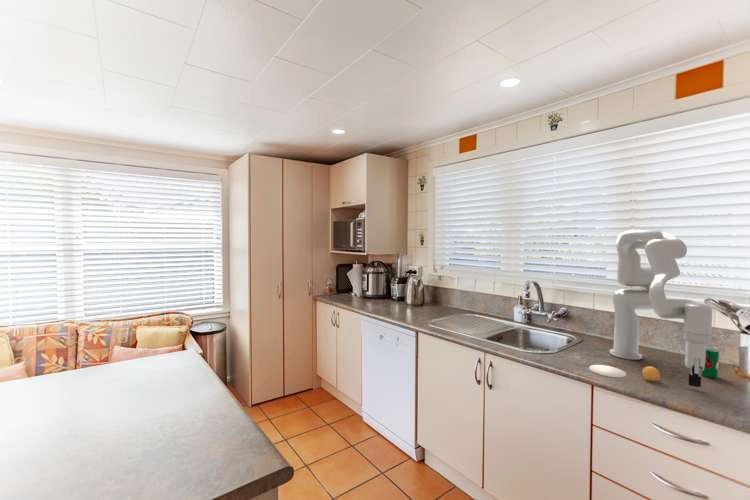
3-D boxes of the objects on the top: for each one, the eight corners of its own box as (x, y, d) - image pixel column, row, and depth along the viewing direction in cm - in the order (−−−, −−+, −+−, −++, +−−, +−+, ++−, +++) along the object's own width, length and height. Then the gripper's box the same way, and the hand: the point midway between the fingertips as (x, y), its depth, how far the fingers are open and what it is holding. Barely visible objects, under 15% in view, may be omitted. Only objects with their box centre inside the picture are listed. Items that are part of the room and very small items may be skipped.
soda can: (719, 379, 137) (721, 350, 136) (702, 377, 140) (703, 347, 139) (715, 375, 141) (717, 346, 141) (699, 372, 144) (700, 344, 143)
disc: (591, 362, 155) (591, 362, 155) (627, 370, 146) (627, 369, 146) (587, 372, 144) (587, 371, 144) (625, 380, 136) (625, 379, 136)
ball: (640, 367, 141) (654, 362, 137) (649, 380, 139) (664, 376, 136) (638, 370, 137) (653, 366, 134) (647, 384, 135) (662, 380, 132)
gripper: (681, 330, 136) (679, 376, 137) (684, 340, 124) (682, 389, 125) (708, 334, 131) (705, 381, 132) (713, 344, 119) (711, 395, 120)
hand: (694, 385), depth 129 cm, fingers closed
